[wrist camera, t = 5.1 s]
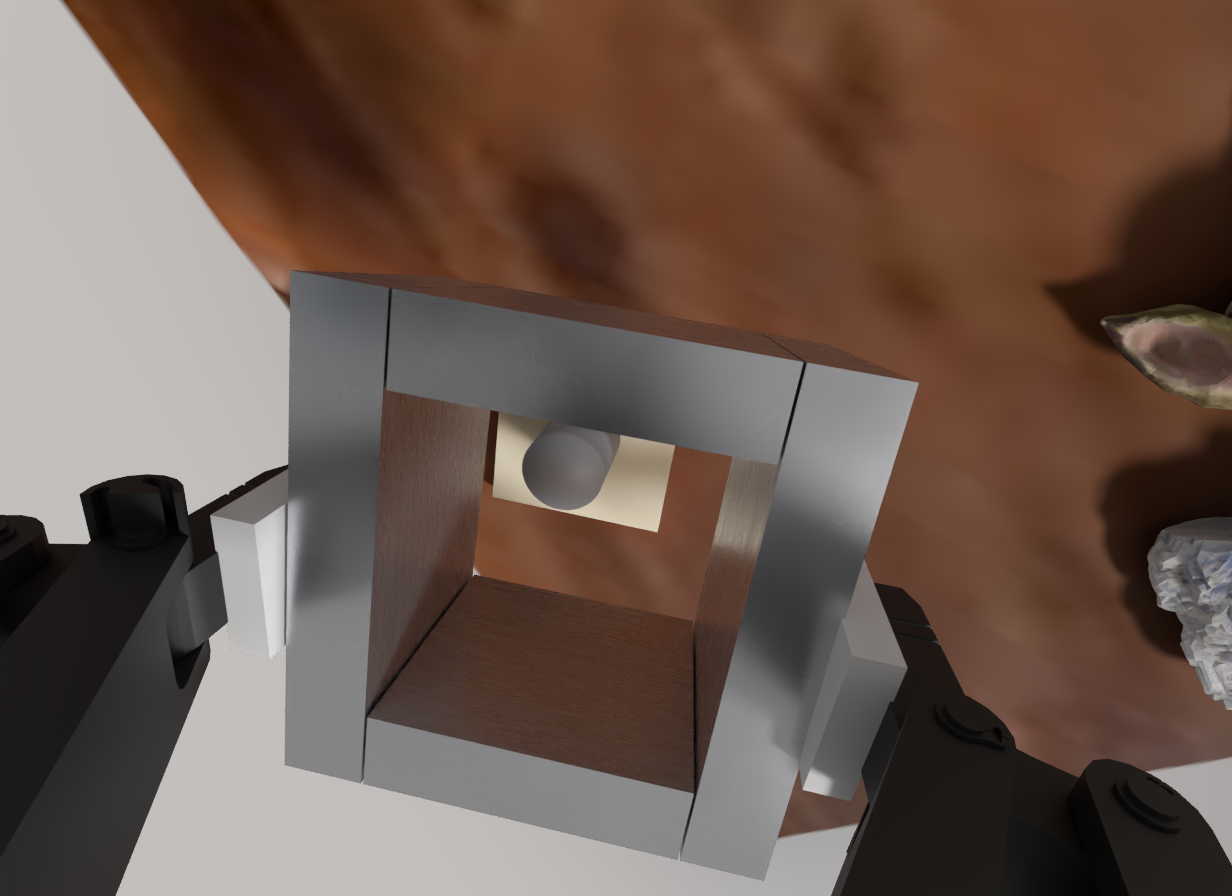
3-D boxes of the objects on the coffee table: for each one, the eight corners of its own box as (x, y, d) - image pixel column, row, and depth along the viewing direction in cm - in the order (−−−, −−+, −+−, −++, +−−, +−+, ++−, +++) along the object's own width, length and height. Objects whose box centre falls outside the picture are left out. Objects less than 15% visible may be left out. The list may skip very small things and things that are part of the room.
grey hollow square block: (441, 276, 14) (290, 270, 9) (828, 344, 13) (918, 382, 8) (415, 611, 16) (284, 764, 11) (739, 682, 16) (763, 880, 11)
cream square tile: (510, 327, 33) (467, 352, 27) (691, 361, 32) (685, 393, 26) (498, 489, 36) (458, 539, 31) (659, 523, 35) (647, 581, 30)
